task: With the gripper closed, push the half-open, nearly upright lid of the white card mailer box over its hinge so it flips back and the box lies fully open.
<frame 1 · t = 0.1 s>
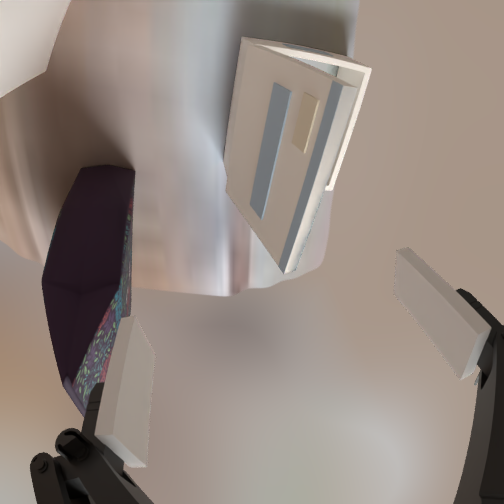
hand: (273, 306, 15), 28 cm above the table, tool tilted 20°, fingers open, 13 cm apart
decorative box: (107, 213, 42), on the table
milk: (21, 16, 20), on the table
lid: (272, 152, 26), point 13 cm above the table, hinge at 75.0°
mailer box: (284, 106, 36), on the table
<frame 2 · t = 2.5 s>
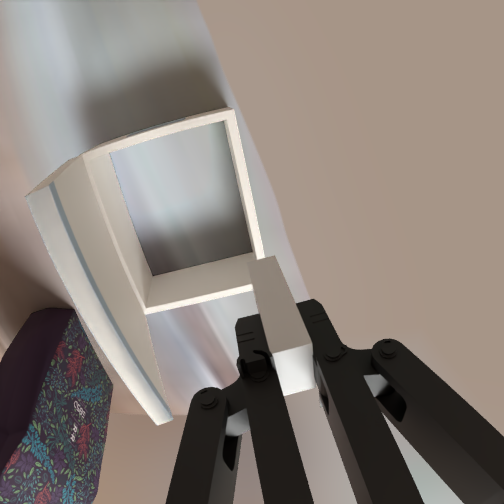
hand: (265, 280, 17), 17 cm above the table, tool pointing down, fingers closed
decorative box: (73, 350, 39), on the table
lid: (105, 281, 20), point 13 cm above the table, hinge at 75.0°
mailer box: (182, 201, 32), on the table
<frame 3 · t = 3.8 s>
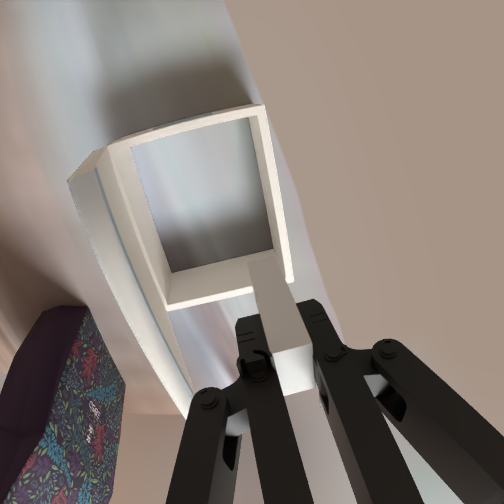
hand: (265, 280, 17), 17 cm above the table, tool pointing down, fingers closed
decorative box: (85, 350, 39), on the table
lid: (135, 276, 20), point 13 cm above the table, hinge at 75.0°
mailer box: (205, 197, 32), on the table
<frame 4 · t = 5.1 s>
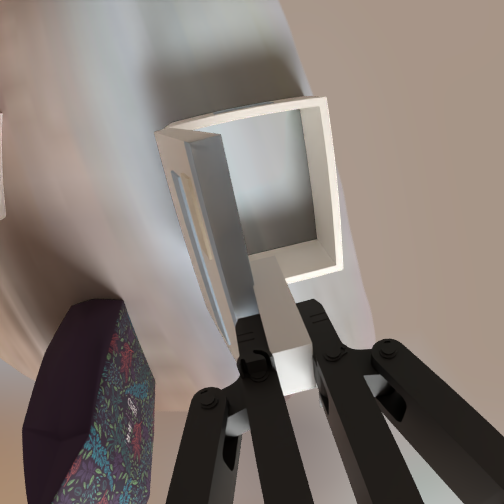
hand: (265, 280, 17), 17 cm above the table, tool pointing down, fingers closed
decorative box: (115, 345, 39), on the table
lid: (209, 259, 20), point 13 cm above the table, hinge at 75.1°, touching gripper
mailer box: (254, 186, 32), on the table
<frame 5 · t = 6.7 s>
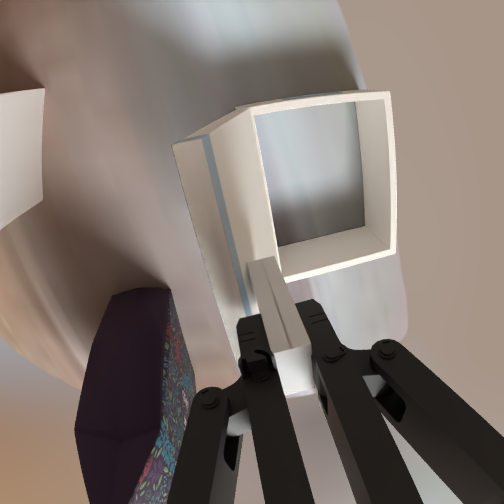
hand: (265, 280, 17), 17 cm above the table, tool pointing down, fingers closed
decorative box: (155, 337, 39), on the table
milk: (1, 146, 25), on the table
lid: (250, 248, 21), point 13 cm above the table, hinge at 106.5°, touching gripper
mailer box: (312, 173, 32), on the table
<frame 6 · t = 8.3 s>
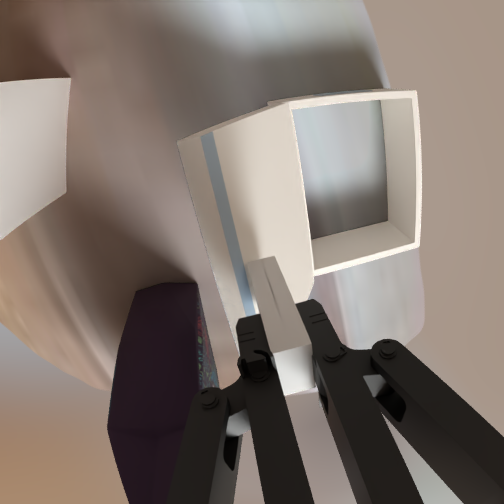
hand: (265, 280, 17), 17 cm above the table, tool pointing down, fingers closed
decorative box: (179, 333, 40), on the table
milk: (22, 137, 25), on the table
lid: (271, 238, 21), point 12 cm above the table, hinge at 121.0°, touching gripper
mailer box: (339, 168, 32), on the table
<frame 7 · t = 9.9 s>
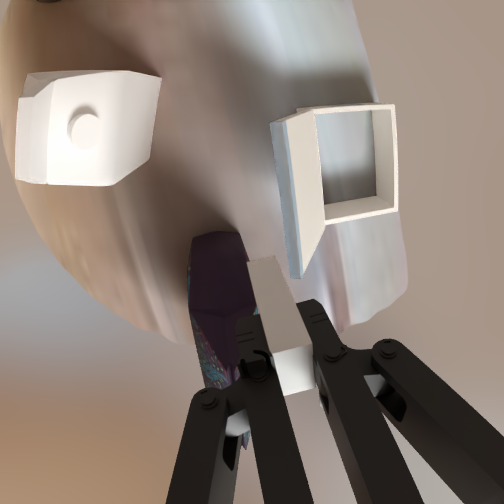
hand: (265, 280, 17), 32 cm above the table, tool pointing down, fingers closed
decorative box: (220, 275, 54), on the table
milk: (117, 115, 40), on the table
lid: (303, 186, 36), point 12 cm above the table, hinge at 121.1°
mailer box: (342, 156, 47), on the table
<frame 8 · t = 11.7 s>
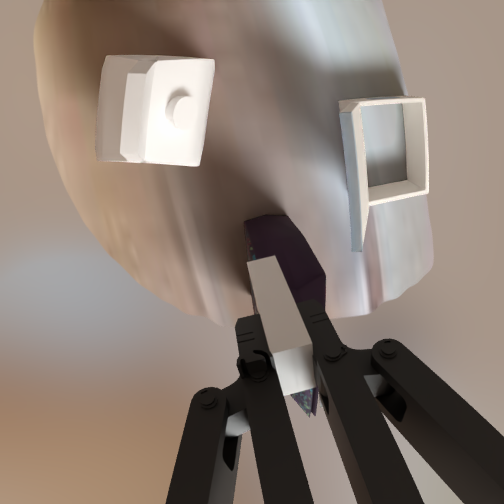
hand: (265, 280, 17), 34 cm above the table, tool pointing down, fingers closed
decorative box: (268, 257, 57), on the table
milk: (170, 104, 42), on the table
lid: (357, 170, 38), point 12 cm above the table, hinge at 121.1°
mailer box: (378, 144, 49), on the table
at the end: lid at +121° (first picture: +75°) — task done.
